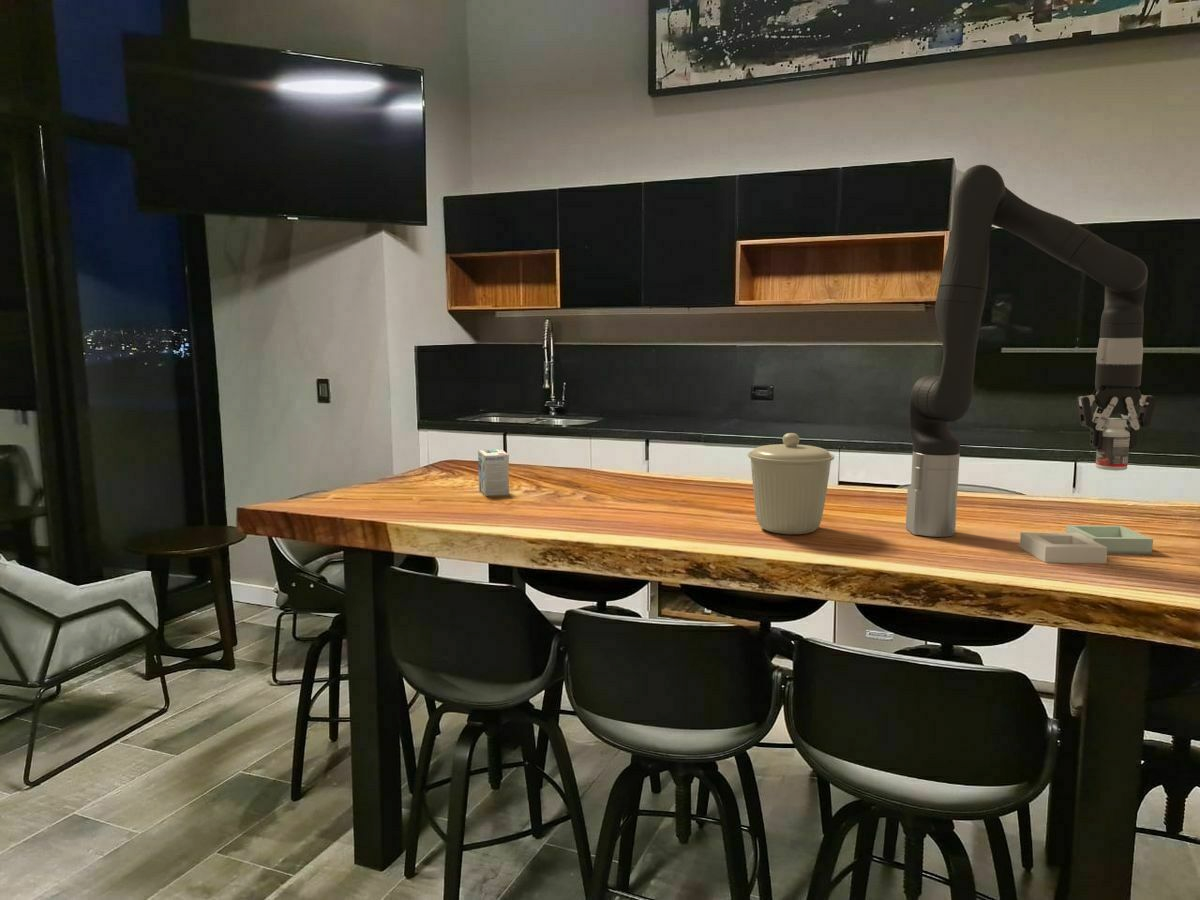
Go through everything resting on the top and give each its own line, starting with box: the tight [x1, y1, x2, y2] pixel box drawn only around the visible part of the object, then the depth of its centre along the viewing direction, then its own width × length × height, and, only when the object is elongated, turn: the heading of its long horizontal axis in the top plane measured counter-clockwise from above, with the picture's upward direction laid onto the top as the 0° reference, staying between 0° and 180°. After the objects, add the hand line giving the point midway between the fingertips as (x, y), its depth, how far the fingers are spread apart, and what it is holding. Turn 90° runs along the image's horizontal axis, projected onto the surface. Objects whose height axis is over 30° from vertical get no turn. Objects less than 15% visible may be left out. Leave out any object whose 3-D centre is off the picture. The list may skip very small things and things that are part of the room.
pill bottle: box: [1095, 417, 1130, 472], centre depth 165 cm, size 5×5×10 cm
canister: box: [747, 432, 835, 535], centre depth 182 cm, size 18×18×21 cm
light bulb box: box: [477, 448, 510, 497], centre depth 226 cm, size 11×7×11 cm, turn 17°
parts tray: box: [1065, 524, 1154, 555], centre depth 168 cm, size 11×11×3 cm
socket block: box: [1019, 532, 1108, 564], centre depth 162 cm, size 11×11×3 cm
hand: (1112, 448), depth 165 cm, fingers closed on pill bottle, 5 cm apart
